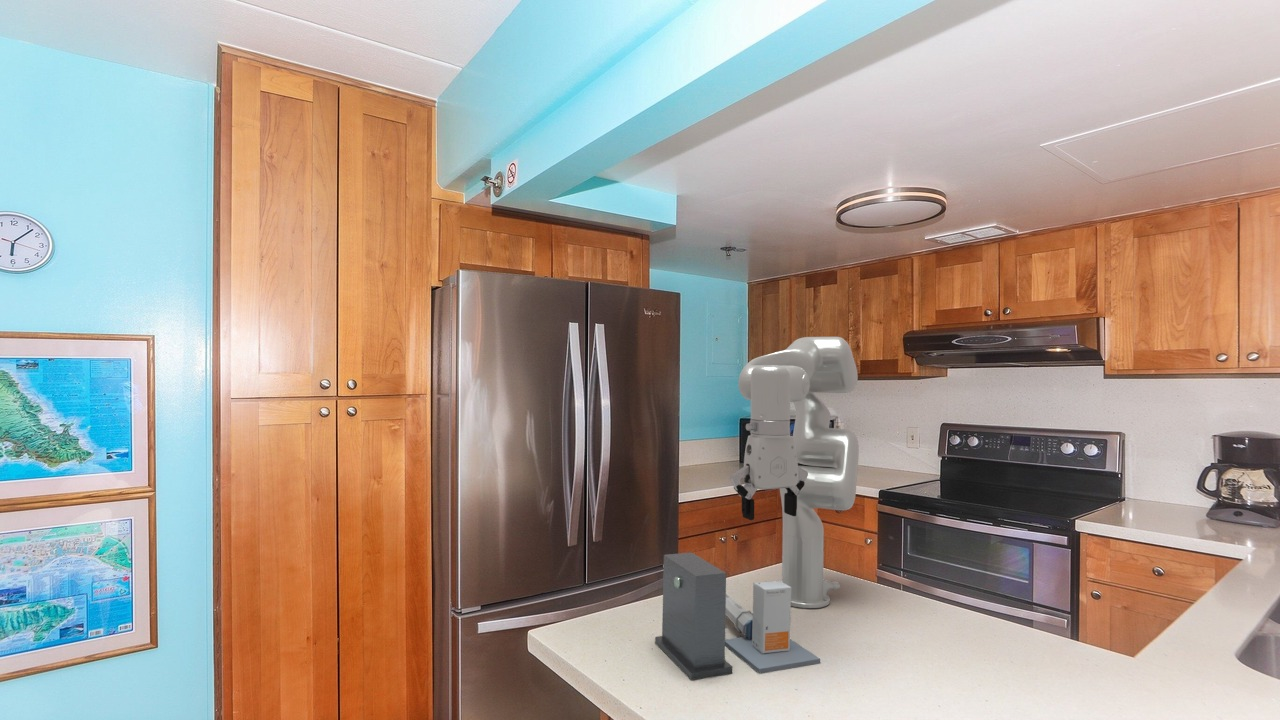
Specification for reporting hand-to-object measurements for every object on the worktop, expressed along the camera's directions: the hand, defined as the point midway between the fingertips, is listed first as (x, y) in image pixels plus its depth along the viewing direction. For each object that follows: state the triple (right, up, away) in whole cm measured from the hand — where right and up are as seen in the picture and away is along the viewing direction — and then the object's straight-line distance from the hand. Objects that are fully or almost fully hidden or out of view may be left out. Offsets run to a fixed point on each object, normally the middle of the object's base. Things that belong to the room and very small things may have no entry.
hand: (769, 516), depth 120 cm
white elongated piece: (-7, -25, +12) cm, 29 cm away
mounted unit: (-16, -25, -6) cm, 30 cm away
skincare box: (0, -24, -3) cm, 25 cm away
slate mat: (-1, -25, -4) cm, 25 cm away
